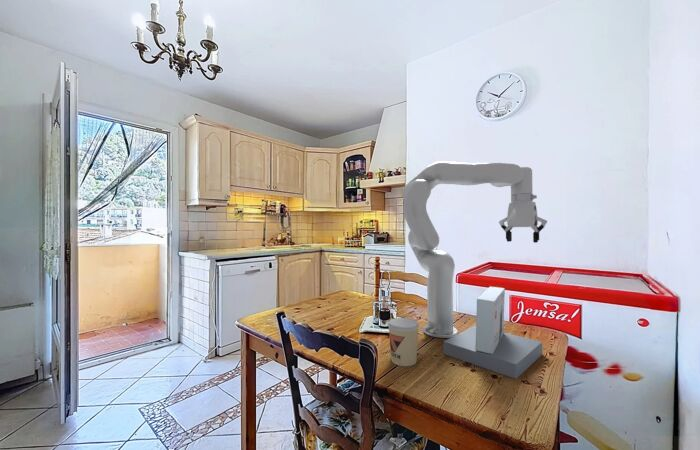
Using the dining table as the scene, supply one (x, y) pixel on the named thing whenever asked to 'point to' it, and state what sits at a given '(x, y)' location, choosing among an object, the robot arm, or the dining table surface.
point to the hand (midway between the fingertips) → (522, 241)
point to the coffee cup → (403, 341)
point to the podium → (495, 352)
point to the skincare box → (490, 319)
